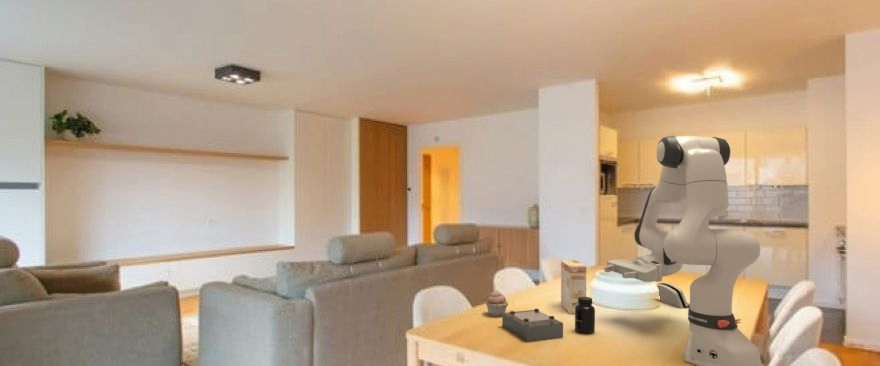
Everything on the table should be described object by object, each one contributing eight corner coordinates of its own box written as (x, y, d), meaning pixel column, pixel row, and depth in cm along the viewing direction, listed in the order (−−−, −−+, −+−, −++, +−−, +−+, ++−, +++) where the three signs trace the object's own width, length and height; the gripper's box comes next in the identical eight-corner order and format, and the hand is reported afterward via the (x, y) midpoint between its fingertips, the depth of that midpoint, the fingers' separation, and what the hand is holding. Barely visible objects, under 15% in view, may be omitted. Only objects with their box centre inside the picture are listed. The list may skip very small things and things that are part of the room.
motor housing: (563, 337, 162) (563, 318, 162) (526, 342, 157) (526, 322, 157) (531, 320, 181) (531, 304, 181) (498, 324, 177) (498, 307, 177)
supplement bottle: (572, 333, 167) (572, 298, 167) (577, 327, 173) (577, 294, 173) (593, 335, 163) (593, 301, 163) (596, 330, 169) (596, 297, 169)
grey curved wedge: (691, 308, 200) (684, 286, 199) (682, 312, 199) (675, 290, 199) (665, 298, 216) (659, 278, 216) (657, 302, 216) (650, 282, 215)
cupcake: (509, 312, 193) (509, 288, 193) (506, 318, 184) (506, 293, 184) (487, 310, 196) (487, 286, 196) (483, 316, 187) (483, 291, 187)
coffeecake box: (586, 314, 191) (587, 265, 191) (569, 314, 191) (569, 265, 191) (576, 304, 206) (577, 259, 206) (560, 304, 206) (560, 259, 206)
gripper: (623, 254, 187) (595, 258, 182) (665, 265, 168) (634, 270, 163) (623, 269, 188) (595, 274, 183) (665, 282, 169) (634, 288, 164)
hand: (614, 272), depth 173 cm, fingers open, 8 cm apart
